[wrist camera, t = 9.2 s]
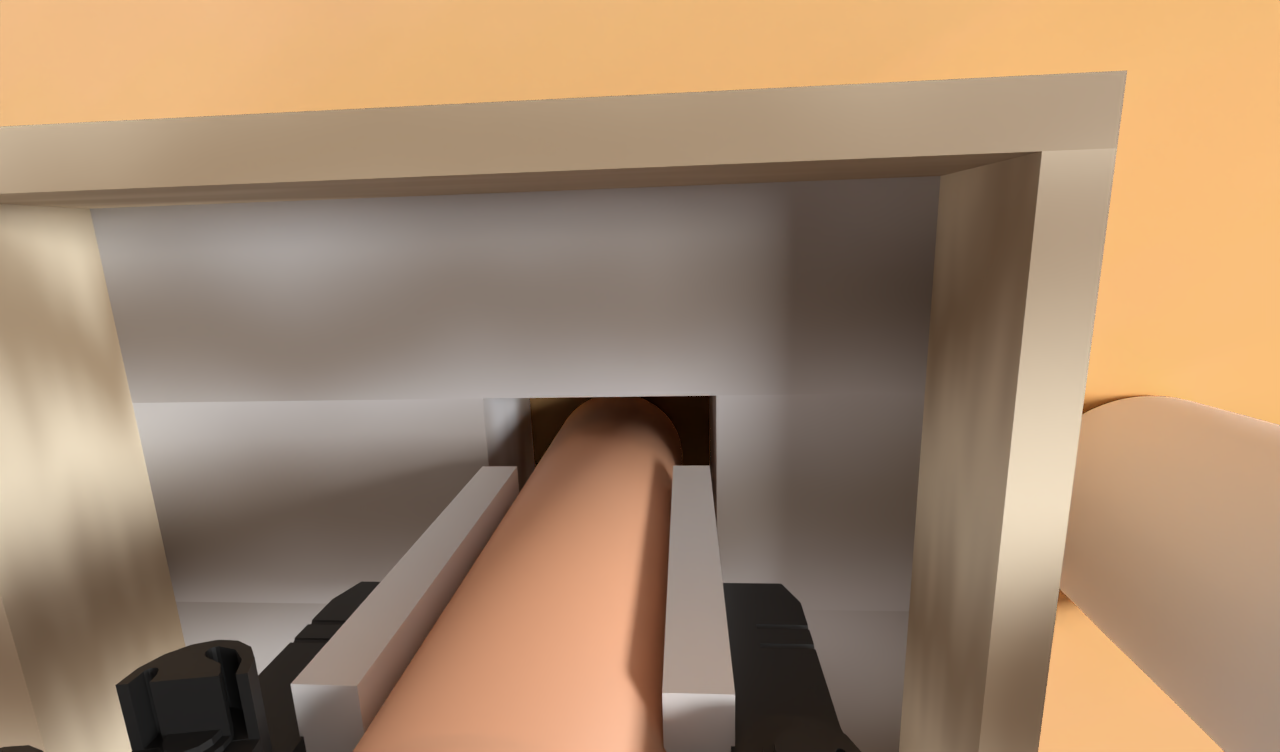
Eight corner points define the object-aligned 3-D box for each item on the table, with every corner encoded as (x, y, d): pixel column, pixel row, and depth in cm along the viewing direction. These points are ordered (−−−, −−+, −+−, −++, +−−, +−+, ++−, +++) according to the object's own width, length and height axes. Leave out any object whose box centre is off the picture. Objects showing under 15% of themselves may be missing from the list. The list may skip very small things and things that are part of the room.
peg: (552, 394, 17) (273, 729, 5) (681, 392, 17) (675, 739, 5) (560, 513, 18) (330, 1025, 6) (683, 513, 18) (681, 1049, 6)
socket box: (183, 179, 17) (-189, 136, 10) (920, 149, 16) (1126, 70, 8) (293, 775, 21) (92, 1051, 14) (878, 795, 20) (990, 1116, 13)
